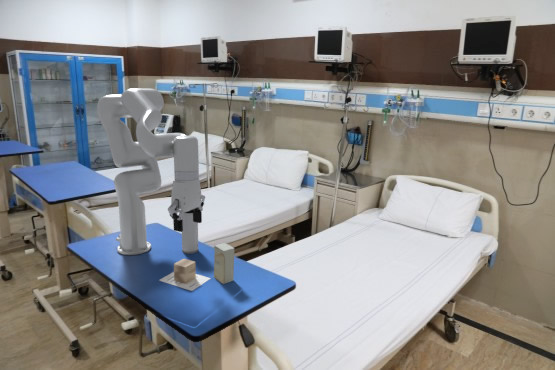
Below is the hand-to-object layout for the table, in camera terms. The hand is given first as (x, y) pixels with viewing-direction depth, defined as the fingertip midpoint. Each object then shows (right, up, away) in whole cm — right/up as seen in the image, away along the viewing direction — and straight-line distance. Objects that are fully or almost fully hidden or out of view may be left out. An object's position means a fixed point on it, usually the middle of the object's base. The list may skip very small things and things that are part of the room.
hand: (188, 226), depth 129 cm
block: (-2, -18, +4) cm, 19 cm away
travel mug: (-5, -13, +28) cm, 31 cm away
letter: (-2, -19, +4) cm, 19 cm away
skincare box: (+11, -19, +6) cm, 23 cm away
